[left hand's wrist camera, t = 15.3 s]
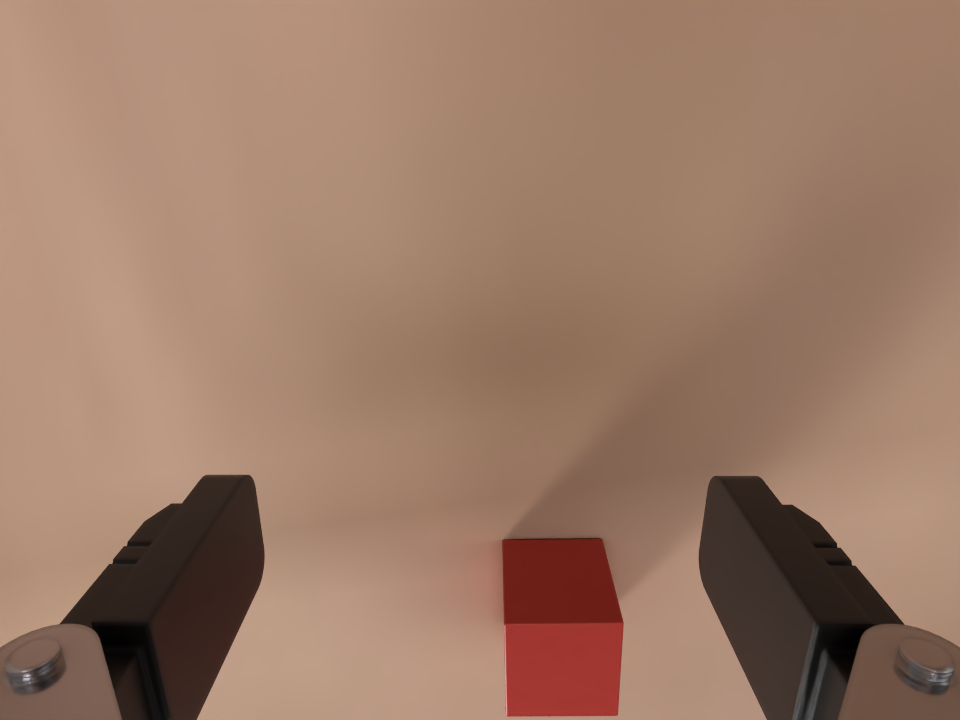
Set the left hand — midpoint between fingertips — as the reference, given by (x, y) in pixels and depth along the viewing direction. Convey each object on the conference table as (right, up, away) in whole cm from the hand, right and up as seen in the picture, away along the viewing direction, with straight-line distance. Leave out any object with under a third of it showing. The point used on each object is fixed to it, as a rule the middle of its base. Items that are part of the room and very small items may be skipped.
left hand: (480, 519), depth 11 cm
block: (+3, -7, +16) cm, 17 cm away
